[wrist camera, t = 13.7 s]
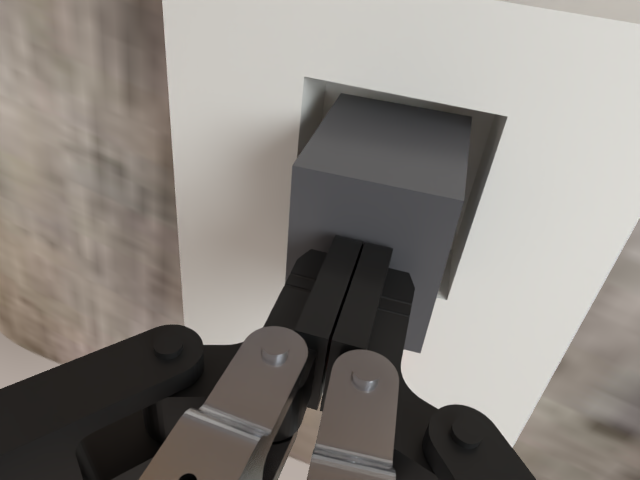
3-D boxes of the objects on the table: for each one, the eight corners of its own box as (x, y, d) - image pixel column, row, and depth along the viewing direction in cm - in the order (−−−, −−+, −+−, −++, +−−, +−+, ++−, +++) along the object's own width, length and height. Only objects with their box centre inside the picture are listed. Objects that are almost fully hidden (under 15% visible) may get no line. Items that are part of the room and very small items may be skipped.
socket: (217, -71, 17) (142, -52, 13) (688, 4, 15) (751, 50, 11) (221, 300, 26) (177, 370, 23) (509, 377, 24) (511, 467, 21)
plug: (351, 77, 18) (292, 165, 13) (473, 98, 17) (464, 200, 12) (336, 205, 21) (282, 318, 16) (439, 227, 20) (420, 353, 15)
